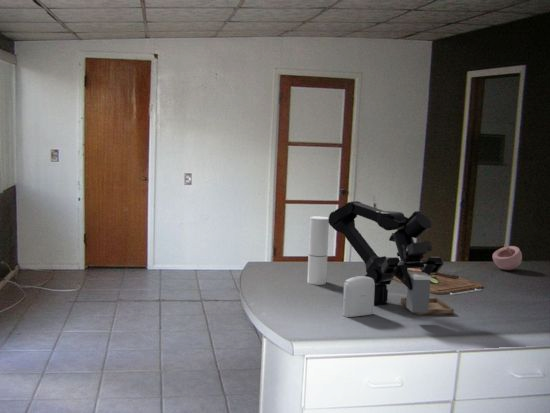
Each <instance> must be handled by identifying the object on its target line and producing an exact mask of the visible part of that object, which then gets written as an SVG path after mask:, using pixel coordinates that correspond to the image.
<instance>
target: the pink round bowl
mask: <svg viewBox="0 0 550 413" xmlns="http://www.w3.org/2000/svg"><path fill="white" fill-rule="evenodd" d="M503 246H504V247H501V248H499V249H496V250H495V251H494V252H493V253H492V261H493V263H494V265H496V267H498V268H499V269H501V270H504V271H512V270H515V269H516V268H518V267H519V266H520V264H521V263H522V260H523V254H522V251H521V250H520V248H519V247H518V246H515V245H509V246H508V245H507V244H503Z"/></svg>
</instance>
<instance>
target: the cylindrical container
mask: <svg viewBox="0 0 550 413" xmlns="http://www.w3.org/2000/svg"><path fill="white" fill-rule="evenodd" d="M329 227H330V224H329V216H328V217H327V216H319V215H317V216H315V215H314V216H310V217H309V233H308V234H309V239H308V257H307V258H308V259H307V281H306V282H307V284H311V285H320V286H322V285H326V284H327V270H328V247H329Z"/></svg>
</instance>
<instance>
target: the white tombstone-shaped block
mask: <svg viewBox="0 0 550 413" xmlns="http://www.w3.org/2000/svg"><path fill="white" fill-rule="evenodd" d="M374 291H375V283H374V280H373V279H372V278H370V277H366V276H365V275H360V276H359V275H357V276H353V277H350V278H348V279H345V281H344V283H343V292H342V294H343V296H342V297H343V298H342V299H343V300H342V315H343V317H345V318H352V317H360V316H361V317H363V316H369V315H373V314H374V310H375V309H374V307H375V305H374Z"/></svg>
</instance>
